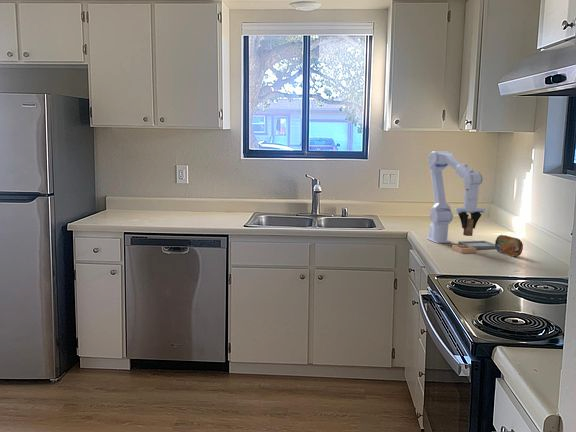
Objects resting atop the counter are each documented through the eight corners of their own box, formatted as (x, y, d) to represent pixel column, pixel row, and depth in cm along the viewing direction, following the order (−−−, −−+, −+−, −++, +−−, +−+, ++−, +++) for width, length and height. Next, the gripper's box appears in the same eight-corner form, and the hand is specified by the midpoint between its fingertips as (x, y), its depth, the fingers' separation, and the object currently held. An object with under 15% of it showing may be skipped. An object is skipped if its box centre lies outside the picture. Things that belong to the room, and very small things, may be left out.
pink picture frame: (451, 249, 263) (452, 245, 263) (466, 248, 265) (466, 244, 265) (461, 253, 256) (461, 248, 256) (475, 252, 258) (476, 248, 258)
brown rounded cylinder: (461, 234, 263) (463, 218, 262) (469, 234, 264) (470, 218, 263) (466, 236, 259) (467, 219, 258) (474, 235, 260) (475, 219, 259)
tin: (493, 251, 263) (495, 233, 262) (499, 250, 264) (501, 233, 263) (517, 258, 249) (519, 239, 248) (523, 258, 250) (525, 239, 249)
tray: (458, 244, 275) (458, 241, 275) (484, 243, 279) (485, 240, 279) (471, 249, 265) (471, 246, 264) (498, 248, 269) (498, 245, 268)
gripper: (461, 200, 253) (459, 230, 255) (490, 200, 257) (487, 229, 259) (453, 198, 260) (450, 227, 262) (481, 198, 264) (478, 226, 266)
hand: (468, 228), depth 261 cm, fingers closed on brown rounded cylinder, 4 cm apart
